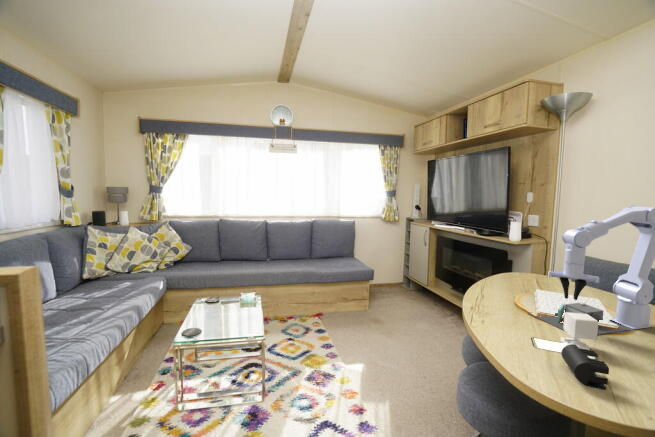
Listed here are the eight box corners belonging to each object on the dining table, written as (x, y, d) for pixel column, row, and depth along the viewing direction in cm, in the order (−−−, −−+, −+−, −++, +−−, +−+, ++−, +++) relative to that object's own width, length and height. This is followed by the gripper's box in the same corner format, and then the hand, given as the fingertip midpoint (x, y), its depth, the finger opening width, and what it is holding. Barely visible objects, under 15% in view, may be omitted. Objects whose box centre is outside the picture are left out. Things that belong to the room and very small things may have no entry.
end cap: (559, 364, 89) (562, 342, 88) (590, 369, 86) (592, 346, 85) (573, 385, 79) (575, 360, 79) (607, 391, 77) (610, 366, 76)
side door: (564, 316, 120) (565, 304, 120) (559, 322, 114) (560, 310, 114) (558, 314, 121) (559, 303, 121) (553, 321, 116) (554, 309, 115)
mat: (574, 308, 129) (574, 307, 129) (631, 330, 110) (631, 329, 109) (527, 313, 123) (527, 312, 123) (578, 337, 104) (578, 336, 104)
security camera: (595, 352, 95) (598, 321, 94) (569, 349, 96) (572, 319, 95) (583, 342, 101) (586, 313, 100) (559, 339, 103) (561, 311, 101)
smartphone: (533, 349, 98) (598, 362, 90) (533, 347, 98) (598, 360, 90) (530, 338, 105) (590, 349, 97) (530, 336, 104) (590, 347, 97)
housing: (580, 314, 122) (581, 301, 121) (605, 325, 113) (607, 310, 112) (563, 316, 120) (565, 302, 119) (588, 327, 111) (590, 312, 111)
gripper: (596, 262, 112) (593, 298, 113) (548, 257, 119) (545, 291, 120) (602, 267, 106) (598, 305, 107) (550, 261, 113) (547, 297, 114)
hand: (570, 298), depth 113 cm, fingers closed
